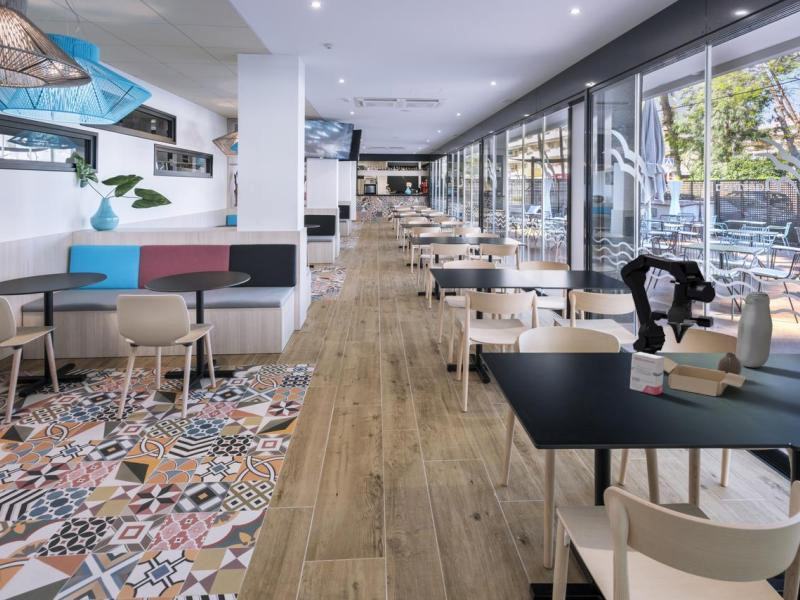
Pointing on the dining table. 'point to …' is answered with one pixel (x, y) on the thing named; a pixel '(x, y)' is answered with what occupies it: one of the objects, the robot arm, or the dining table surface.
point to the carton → (697, 380)
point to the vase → (730, 364)
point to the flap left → (669, 365)
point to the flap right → (734, 379)
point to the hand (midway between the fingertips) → (678, 343)
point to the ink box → (647, 373)
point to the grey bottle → (754, 331)
